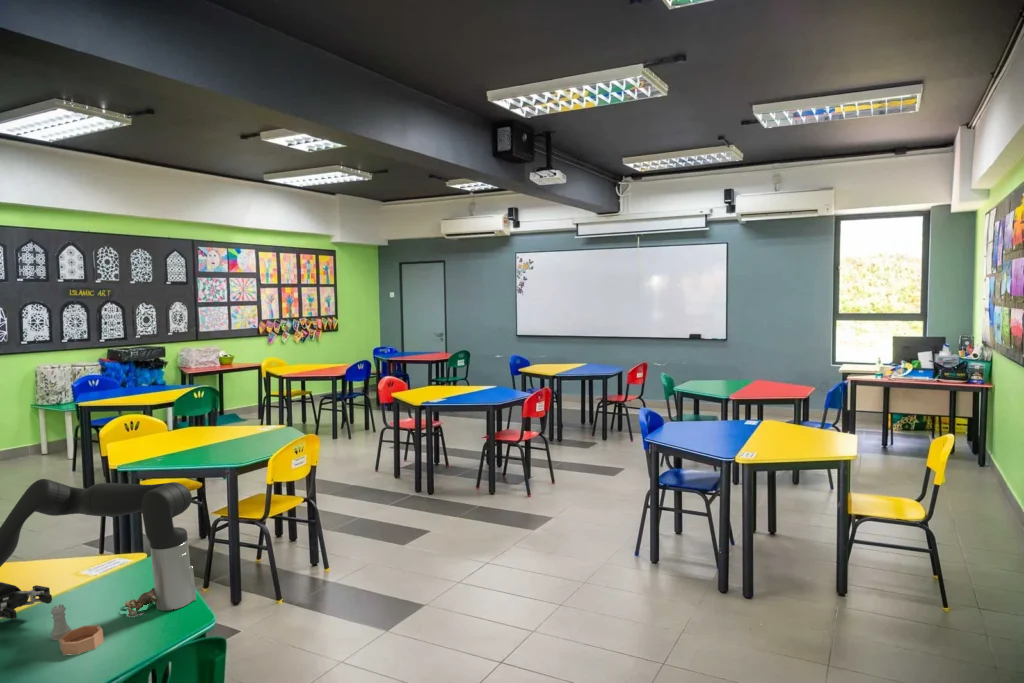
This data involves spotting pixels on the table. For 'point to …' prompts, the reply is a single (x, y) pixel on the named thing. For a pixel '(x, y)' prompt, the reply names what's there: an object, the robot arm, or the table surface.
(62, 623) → the rook chess piece
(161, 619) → the table surface
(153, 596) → the frog figurine
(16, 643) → the table surface
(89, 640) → the dish
